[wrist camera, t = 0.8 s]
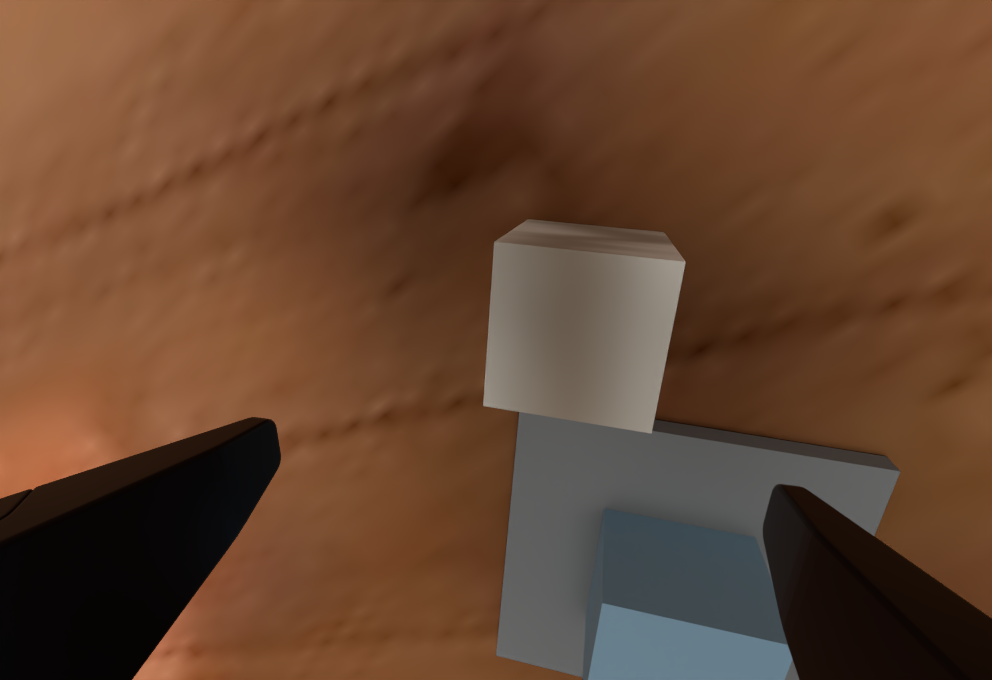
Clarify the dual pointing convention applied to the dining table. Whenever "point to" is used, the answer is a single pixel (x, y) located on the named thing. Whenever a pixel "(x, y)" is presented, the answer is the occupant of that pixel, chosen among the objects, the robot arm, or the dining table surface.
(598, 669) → the bottom brick
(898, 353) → the dining table surface
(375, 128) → the dining table surface
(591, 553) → the base mat
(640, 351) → the top brick
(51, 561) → the robot arm
